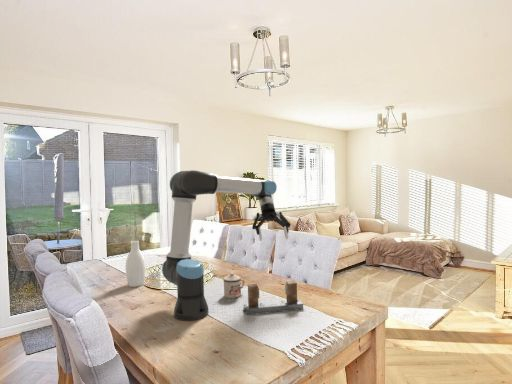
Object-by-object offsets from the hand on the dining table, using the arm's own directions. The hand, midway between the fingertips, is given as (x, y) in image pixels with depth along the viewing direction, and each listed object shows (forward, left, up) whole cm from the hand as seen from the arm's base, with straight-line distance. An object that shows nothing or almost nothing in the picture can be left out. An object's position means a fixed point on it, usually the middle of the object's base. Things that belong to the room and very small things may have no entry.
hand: (274, 238), depth 170 cm
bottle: (-74, +38, -29) cm, 89 cm away
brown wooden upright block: (+4, -15, -29) cm, 33 cm away
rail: (-5, -17, -29) cm, 34 cm away
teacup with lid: (-20, +6, -29) cm, 36 cm away
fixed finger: (-14, -15, -29) cm, 36 cm away
